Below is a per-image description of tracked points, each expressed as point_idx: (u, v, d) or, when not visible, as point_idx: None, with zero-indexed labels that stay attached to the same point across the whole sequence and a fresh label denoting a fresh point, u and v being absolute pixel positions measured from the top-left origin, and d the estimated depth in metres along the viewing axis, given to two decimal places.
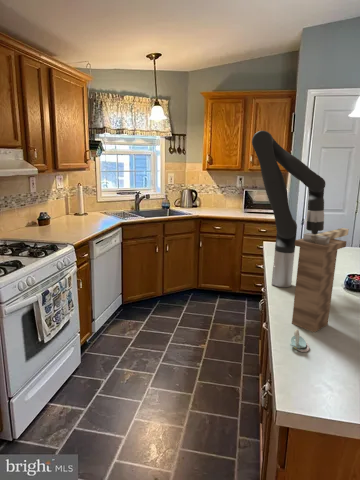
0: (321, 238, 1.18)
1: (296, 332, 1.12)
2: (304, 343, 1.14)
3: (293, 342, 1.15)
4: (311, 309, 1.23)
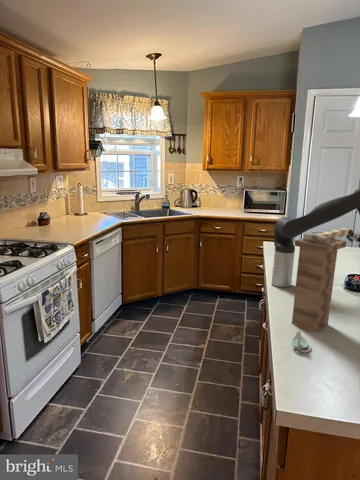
0: (321, 238, 1.18)
1: (298, 332, 1.12)
2: (305, 343, 1.13)
3: (294, 342, 1.14)
4: (311, 309, 1.23)
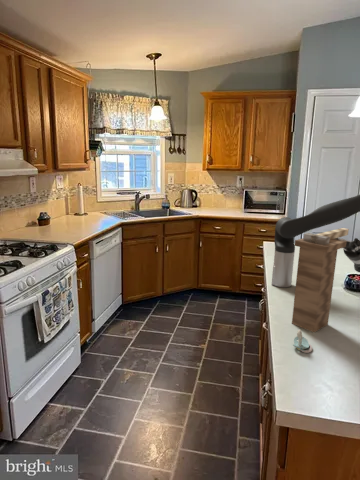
0: (321, 238, 1.18)
1: (299, 333, 1.11)
2: (307, 344, 1.13)
3: (296, 343, 1.14)
4: (311, 309, 1.23)
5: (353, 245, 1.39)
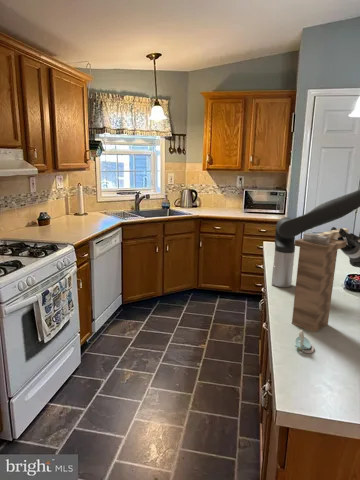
0: (321, 238, 1.18)
1: (301, 333, 1.11)
2: (309, 344, 1.13)
3: (298, 343, 1.14)
4: (311, 309, 1.23)
5: None
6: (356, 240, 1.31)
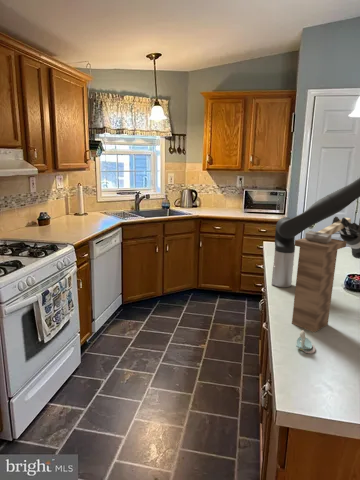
0: (323, 237, 1.19)
1: (302, 333, 1.11)
2: (310, 344, 1.13)
3: (299, 343, 1.14)
4: (311, 309, 1.23)
5: (346, 227, 1.34)
6: (358, 230, 1.30)
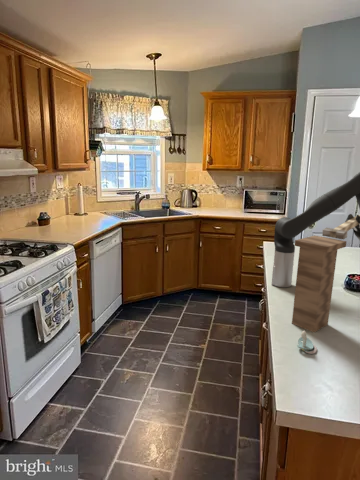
0: (339, 233, 1.27)
1: (303, 334, 1.11)
2: (311, 345, 1.13)
3: (300, 344, 1.14)
4: (311, 309, 1.23)
5: (359, 224, 1.42)
6: None
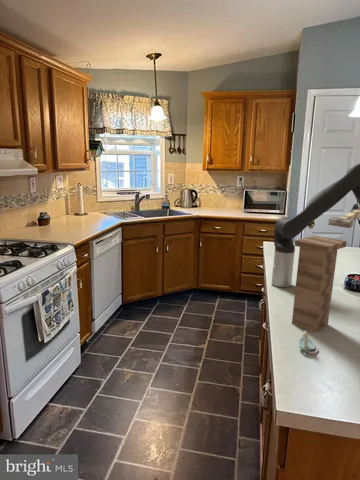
0: (345, 222, 1.28)
1: (305, 334, 1.11)
2: (313, 345, 1.12)
3: (301, 344, 1.13)
4: (311, 309, 1.23)
5: None
6: None
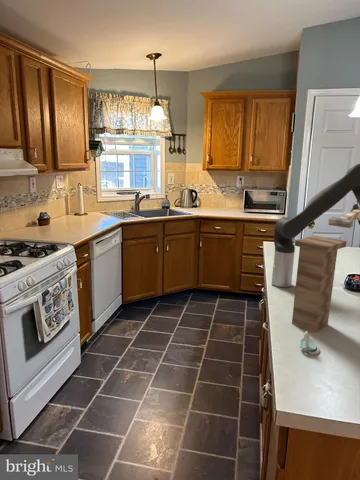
0: (345, 222, 1.28)
1: (306, 334, 1.11)
2: (314, 345, 1.12)
3: (303, 344, 1.13)
4: (311, 309, 1.23)
5: None
6: None
